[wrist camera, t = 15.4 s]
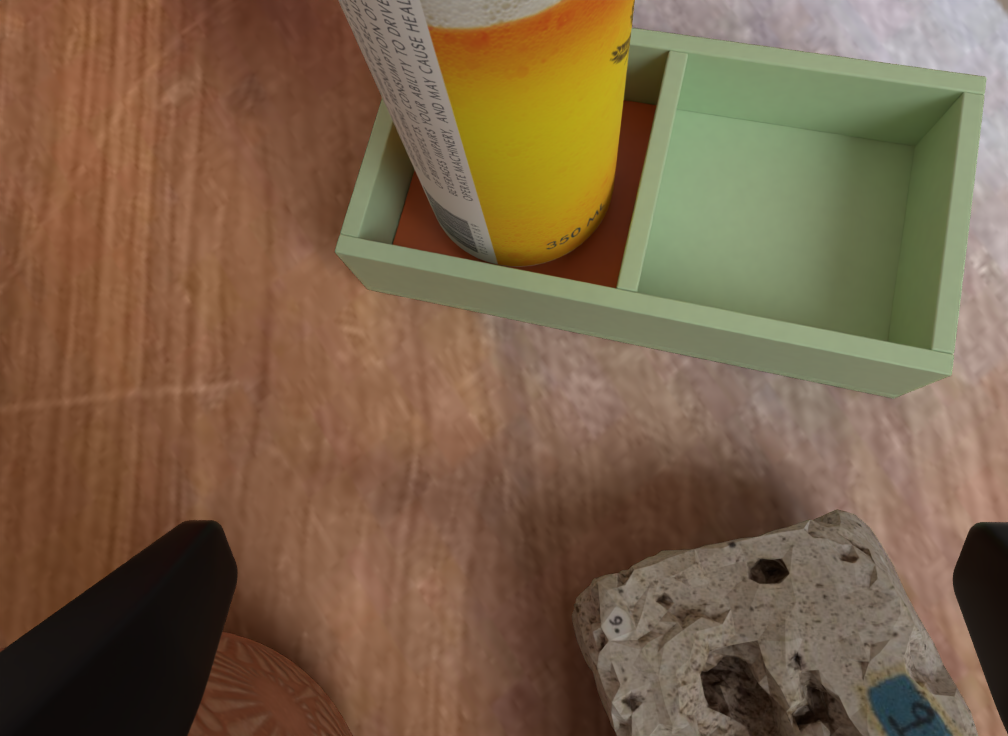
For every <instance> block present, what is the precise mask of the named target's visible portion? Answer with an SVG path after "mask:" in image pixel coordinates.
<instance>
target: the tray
mask: <svg viewBox="0 0 1008 736" xmlns="http://www.w3.org/2000/svg"><path fill="white" fill-rule="evenodd" d="M985 87H986V77H984V76H977V75H969V74H962V73H955V72H948V71H941V70H933V69H926V68H919V67H912V66H904V65H897V64H890V63H883V62H875V61H868V60H861V59H854V58H847V57H839V56H832V55H825V54H818V53H810V52H803V51H796V50H789V49H782V48H774V47H767V46H760V45H753V44H745V43H738V42H731V41H724V40H717V39H709V38H702V37H695V36H688V35H680V34H673V33H666V32H659V31H651V30H644V29H637V28H632V29H631V38H630V47H629V55H628V64H627V73H626V82H625V91H624V100H623V109H622V118H621V126H620V135H619V144H618V153H617V162H616V171H615V180H614V189H613V194H612V198H611V202H610V205H609V207H608V210H607V212H606V214H605V216H604V218H603V220H602V221H601V223H600V224H599V226H598V227H597V229H596V230H595V231H594V232H593V233H592V234H591V236H590V237H589V238H588V239H586V240H585V241H584V242H583V243H582V244H581V245H580V246H578V247H577V248H575V249H574V250H573V251H571V252H569V253H567V254H566V255H564V256H562V257H560V258H557V259H555V260H553V261H549V262H546V263H543V264H538V265H533V266H522V267H514V266H503V265H497V264H493V263H489V262H486V261H484V260H481V259H478V258H476V257H474V256H472V255H471V254H469V253H467V252H466V251H464V250H463V249H461V248H460V247H459V246H458V245H457V244H455V243H454V242H453V241H452V240H451V239H450V238H449V236H448V235H447V234H446V233H445V231H444V230H443V228H442V227H441V226H440V224H439V222H438V220H437V218H436V216H435V214H434V211H433V209H432V207H431V205H430V202H429V200H428V198H427V196H426V194H425V191H424V189H423V187H422V185H421V183H420V180H419V178H418V176H417V174H416V171H415V169H414V167H413V165H412V163H411V160H410V158H409V156H408V154H407V151H406V149H405V147H404V145H403V143H402V140H401V138H400V136H399V134H398V131H397V129H396V127H395V125H394V123H393V120H392V118H391V116H390V114H389V111H388V109H387V107H386V105H385V103H384V100H383V98H382V100H381V103H380V106H379V110H378V113H377V116H376V119H375V122H374V126H373V129H372V132H371V135H370V139H369V142H368V145H367V148H366V151H365V155H364V158H363V161H362V164H361V168H360V171H359V174H358V177H357V180H356V184H355V187H354V190H353V193H352V197H351V200H350V203H349V206H348V210H347V213H346V216H345V219H344V222H343V226H342V229H341V232H340V233H341V235H339V238H338V242H337V245H336V248H335V253H336V254H337V255H338V256H339V258H340V259H341V260H342V261H343V262H344V263H345V264H346V266H347V267H348V268H349V269H350V270H351V271H352V272H353V273H354V275H355V276H356V277H357V278H358V279H359V280H360V281H361V283H362V284H363V285H364V286H365V287H366V288H367V289H368V290H373V291H378V292H382V293H387V294H392V295H397V296H402V297H407V298H411V299H416V300H421V301H426V302H431V303H436V304H440V305H445V306H450V307H455V308H460V309H464V310H469V311H474V312H479V313H484V314H489V315H493V316H498V317H503V318H508V319H513V320H518V321H522V322H527V323H532V324H537V325H542V326H546V327H551V328H556V329H561V330H566V331H571V332H575V333H580V334H585V335H590V336H595V337H600V338H604V339H609V340H614V341H619V342H624V343H628V344H633V345H638V346H643V347H648V348H653V349H657V350H662V351H667V352H672V353H677V354H682V355H686V356H691V357H696V358H701V359H706V360H711V361H715V362H720V363H725V364H730V365H735V366H739V367H744V368H749V369H754V370H759V371H764V372H768V373H773V374H778V375H783V376H788V377H793V378H797V379H802V380H807V381H812V382H817V383H821V384H826V385H831V386H836V387H841V388H846V389H850V390H855V391H860V392H865V393H870V394H875V395H879V396H884V397H889V398H897V397H899V396H901V395H904V394H906V393H909V392H911V391H914V390H916V389H919V388H921V387H924V386H926V385H929V384H931V383H934V382H936V381H939V380H941V379H944V378H946V377H949V376H951V375H952V368H953V360H954V355H953V353H954V349H955V341H956V333H957V324H958V316H959V307H960V299H961V290H962V282H963V273H964V265H965V257H966V248H967V240H968V231H969V223H970V214H971V206H972V198H973V189H974V181H975V172H976V164H977V155H978V147H979V139H980V130H981V122H982V113H983V105H984V94H985Z"/></svg>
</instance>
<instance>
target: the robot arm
mask: <svg viewBox="0 0 1008 736" xmlns="http://www.w3.org/2000/svg"><path fill="white" fill-rule="evenodd" d="M236 583H237V565H236V562H235V559H234V557H233V554H232V551H231V549H230V546H229V544H228V541H227V538H226V536H225V533H224V531H223V528H222V526H221V525H220V524H219V523H218V522H216V521H213V520H189V521H185V522H182V523H181V524H179V525H178V526H176V527H175V528H173V529H172V530H171V531H169V532H168V533H166V534H165V535H164V536H162V537H161V538H159V539H158V540H156V541H155V542H154V543H152V544H151V545H149V546H148V547H147V548H145V549H144V550H142V551H141V552H140V553H138V554H137V555H135V556H134V557H133V558H131V559H130V560H128V561H127V562H126V563H124V564H123V565H121V566H120V567H119V568H117V569H116V570H114V571H113V572H112V573H110V574H109V575H107V576H106V577H105V578H103V579H102V580H100V581H99V582H98V583H96V584H95V585H93V586H92V587H91V588H89V589H88V590H86V591H85V592H84V593H82V594H81V595H79V596H78V597H77V598H75V599H74V600H72V601H71V602H69V603H68V604H67V605H65V606H64V607H62V608H61V609H60V610H58V611H57V612H55V613H54V614H53V615H51V616H50V617H48V618H47V619H46V620H44V621H43V622H41V623H40V624H39V625H37V626H36V627H34V628H33V629H32V630H30V631H29V632H27V633H26V634H25V635H23V636H22V637H20V638H19V639H18V640H16V641H15V642H13V643H12V644H11V645H9V646H8V647H6V648H5V649H4V650H2V651H1V652H0V736H188V734H189V731H190V729H191V726H192V724H193V721H194V719H195V716H196V714H197V711H198V708H199V706H200V703H201V701H202V698H203V695H204V692H205V689H206V685H207V682H208V679H209V676H210V672H211V669H212V666H213V662H214V659H215V655H216V652H217V649H218V645H219V642H220V638H221V635H222V632H223V628H224V625H225V621H226V618H227V615H228V611H229V608H230V604H231V601H232V598H233V594H234V591H235V587H236ZM953 587H954V592H955V595H956V598H957V601H958V603H959V606H960V609H961V612H962V614H963V617H964V620H965V623H966V625H967V628H968V631H969V634H970V636H971V639H972V642H973V645H974V647H975V650H976V653H977V656H978V658H979V661H980V664H981V667H982V669H983V672H984V675H985V678H986V680H987V683H988V686H989V689H990V691H991V694H992V697H993V700H994V702H995V705H996V707H997V710H998V712H999V715H1000V717H1001V720H1002V722H1003V725H1004V727H1005V729H1006V731H1007V733H1008V522H980V523H976V524H975V525H974V526H973V527H971V529H970V530H969V532H968V535H967V538H966V540H965V543H964V545H963V548H962V551H961V553H960V556H959V558H958V561H957V564H956V566H955V569H954V573H953Z"/></svg>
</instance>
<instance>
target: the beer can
mask: <svg viewBox="0 0 1008 736" xmlns="http://www.w3.org/2000/svg"><path fill="white" fill-rule="evenodd" d="M634 2H635V0H339V3H340V5H341V7H342V9H343V12H344V14H345V16H346V18H347V20H348V23H349V25H350V27H351V29H352V32H353V34H354V36H355V38H356V40H357V43H358V45H359V47H360V49H361V52H362V54H363V56H364V58H365V60H366V63H367V65H368V67H369V69H370V72H371V74H372V76H373V78H374V80H375V83H376V85H377V87H378V89H379V92H380V94H381V96H382V98H383V100H384V103H385V105H386V107H387V109H388V111H389V114H390V116H391V118H392V120H393V123H394V125H395V127H396V129H397V131H398V134H399V136H400V138H401V140H402V143H403V145H404V147H405V149H406V151H407V154H408V156H409V158H410V160H411V163H412V165H413V167H414V169H415V171H416V174H417V176H418V178H419V180H420V183H421V185H422V187H423V189H424V191H425V194H426V196H427V198H428V200H429V202H430V205H431V207H432V209H433V211H434V214H435V216H436V218H437V220H438V222H439V224H440V226H441V227H442V228H443V230H444V231H445V233H446V234H447V235H448V236H449V238H450V239H451V240H452V241H453V242H454V243H455V244H457V245H458V246H459V247H460V248H461V249H463V250H464V251H466V252H467V253H469V254H471V255H472V256H474V257H476V258H478V259H481V260H484V261H486V262H489V263H493V264H497V265H503V266H514V267H522V266H533V265H538V264H543V263H546V262H549V261H553V260H555V259H557V258H560V257H562V256H564V255H566V254H567V253H569V252H571V251H573V250H574V249H575V248H577V247H578V246H580V245H581V244H582V243H583V242H584V241H585V240H586V239H588V238H589V237H590V236H591V234H592V233H593V232H594V231H595V230H596V229H597V227H598V226H599V224H600V223H601V221H602V220H603V218H604V216H605V214H606V212H607V210H608V207H609V205H610V202H611V198H612V194H613V189H614V180H615V171H616V162H617V153H618V144H619V135H620V126H621V118H622V109H623V100H624V91H625V82H626V73H627V64H628V55H629V47H630V38H631V29H632V20H633V11H634Z"/></svg>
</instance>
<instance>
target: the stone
mask: <svg viewBox="0 0 1008 736" xmlns="http://www.w3.org/2000/svg"><path fill="white" fill-rule="evenodd" d="M572 621H573V626H574V631H575V635H576V639H577V642H578V644H579V646H580V649H581V651H582V654H583V656H584V659H585V661H586V663H587V665H588V666H589V668H590V669H591V670H592V671H593V674H594V678H595V682H596V686H597V691H598V694H599V696H600V699H601V701H602V704H603V706H604V709H605V711H606V713H607V715H608V717H609V719H610V724H611V726H612V727H613V729H614V730H615V732H616V736H978V733H977V730H976V727H975V724H974V721H973V718H972V715H971V712H970V710H969V708H968V706H967V705H966V703H965V701H964V699H963V697H962V696H961V694H960V692H959V690H958V689H957V687H956V685H955V683H954V682H953V680H952V678H951V677H950V675H949V673H948V672H947V670H946V668H945V667H944V665H943V663H942V660H941V658H940V656H939V654H938V651H937V649H936V647H935V645H934V643H933V641H932V639H931V637H930V636H929V634H928V632H927V631H926V629H925V627H924V625H923V624H922V622H921V620H920V619H919V617H918V615H917V613H916V612H915V610H914V608H913V606H912V604H911V602H910V600H909V598H908V596H907V594H906V592H905V590H904V588H903V586H902V584H901V582H900V579H899V577H898V575H897V573H896V570H895V568H894V566H893V564H892V562H891V560H890V559H889V557H888V555H887V554H886V552H885V550H884V549H883V547H882V545H881V544H880V542H879V541H878V539H877V538H876V536H875V535H874V533H873V532H872V530H871V529H870V527H868V526H867V525H866V524H865V523H864V522H863V521H862V520H860V519H859V518H858V517H857V516H856V515H854V514H851V513H848V512H845V511H841V510H834V511H832V512H830V513H828V514H825V515H823V516H821V517H819V518H816V519H814V520H807V521H804V522H801V523H798V524H795V525H792V526H790V527H786V528H782V529H778V530H774V531H771V532H768V533H766V534H763V535H761V536H758V537H752V538H740V539H736V540H731V541H727V542H723V543H718V544H710V545H705V546H702V547H699V548H696V549H688V550H665V551H661V552H659V553H658V554H657V555H655V556H652V557H648V558H646V559H644V560H642V561H640V562H638V563H637V564H635V565H633V566H631V568H630V569H629V570H623V571H620V573H614V574H609V575H604V576H601V577H598V578H596V579H593V580H592V582H591V584H590V586H588V587H587V588H586V589H585V590H584V591H583V592H582V593H581V594H580V595H579V596H578V597H577V598H576V603H575V604H574V611H573V613H572Z"/></svg>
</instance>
